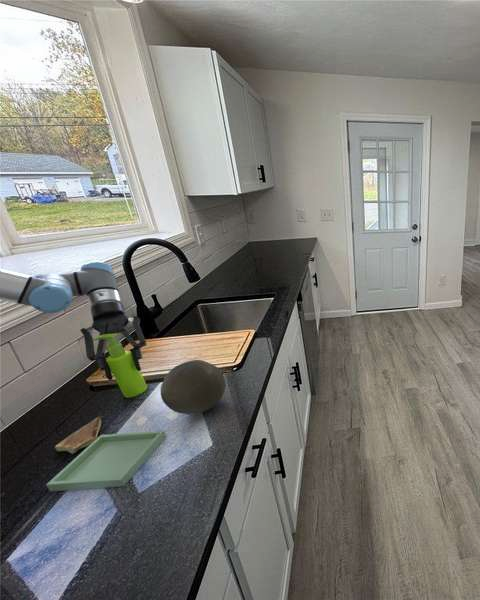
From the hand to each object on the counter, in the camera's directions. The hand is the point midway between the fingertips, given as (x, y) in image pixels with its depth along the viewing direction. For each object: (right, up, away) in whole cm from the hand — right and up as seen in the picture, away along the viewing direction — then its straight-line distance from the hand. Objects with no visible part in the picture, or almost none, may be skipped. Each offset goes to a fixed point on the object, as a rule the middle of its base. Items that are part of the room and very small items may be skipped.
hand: (124, 373), depth 92 cm
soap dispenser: (-2, -7, +6) cm, 9 cm away
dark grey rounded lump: (+26, -9, -4) cm, 28 cm away
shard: (-1, -14, -12) cm, 18 cm away
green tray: (+14, -16, -19) cm, 29 cm away
